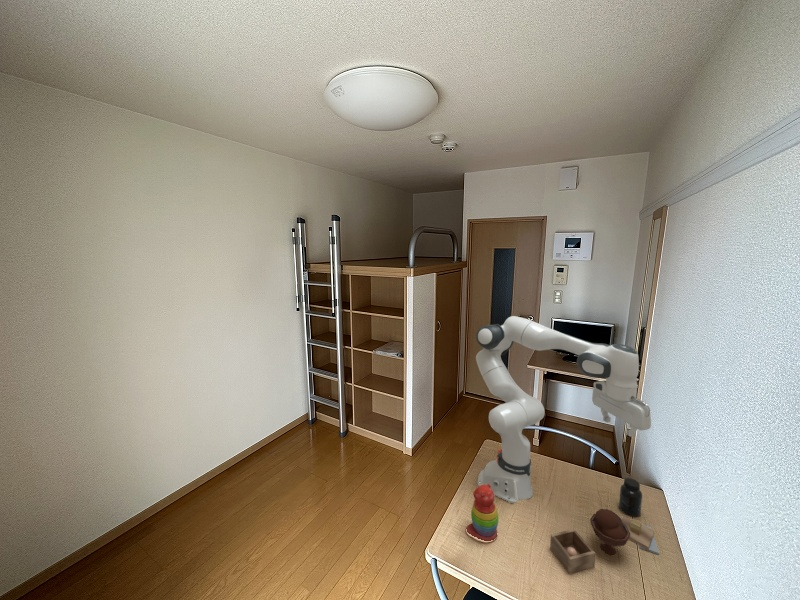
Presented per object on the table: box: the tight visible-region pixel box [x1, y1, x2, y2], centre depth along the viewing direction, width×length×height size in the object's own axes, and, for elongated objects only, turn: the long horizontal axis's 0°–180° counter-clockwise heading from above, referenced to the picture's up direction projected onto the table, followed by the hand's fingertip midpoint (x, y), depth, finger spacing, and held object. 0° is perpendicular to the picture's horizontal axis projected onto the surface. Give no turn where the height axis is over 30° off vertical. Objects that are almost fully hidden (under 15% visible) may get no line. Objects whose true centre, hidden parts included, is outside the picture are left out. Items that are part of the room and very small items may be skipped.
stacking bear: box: [465, 484, 499, 541], centre depth 113 cm, size 11×10×18 cm
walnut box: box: [549, 528, 596, 575], centre depth 103 cm, size 9×9×6 cm
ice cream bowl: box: [589, 508, 630, 557], centre depth 104 cm, size 11×11×15 cm
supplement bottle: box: [618, 477, 643, 518], centre depth 121 cm, size 7×7×12 cm
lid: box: [621, 515, 655, 550], centre depth 111 cm, size 9×9×4 cm
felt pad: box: [620, 517, 660, 555], centre depth 111 cm, size 11×11×1 cm
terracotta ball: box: [566, 547, 577, 556], centre depth 103 cm, size 3×3×3 cm
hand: (617, 428), depth 112 cm, fingers open, 8 cm apart
